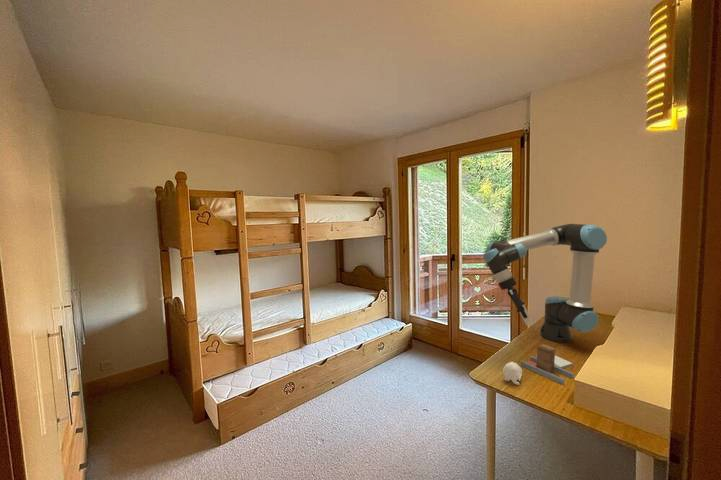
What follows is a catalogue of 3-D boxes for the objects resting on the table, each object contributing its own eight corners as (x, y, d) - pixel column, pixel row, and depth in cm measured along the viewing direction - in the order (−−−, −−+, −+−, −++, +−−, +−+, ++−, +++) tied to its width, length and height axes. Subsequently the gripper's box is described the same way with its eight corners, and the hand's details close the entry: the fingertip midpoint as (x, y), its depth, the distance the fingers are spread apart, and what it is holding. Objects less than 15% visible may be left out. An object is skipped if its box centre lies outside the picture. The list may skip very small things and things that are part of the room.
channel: (531, 359, 142) (531, 355, 141) (573, 378, 126) (574, 373, 126) (520, 365, 137) (520, 361, 136) (562, 384, 121) (563, 380, 121)
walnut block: (542, 366, 135) (543, 344, 134) (553, 372, 131) (555, 348, 130) (536, 369, 133) (537, 346, 132) (547, 375, 128) (549, 351, 127)
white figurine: (502, 362, 123) (511, 354, 132) (500, 382, 123) (510, 373, 132) (518, 367, 119) (527, 359, 127) (517, 388, 119) (525, 378, 127)
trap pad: (530, 361, 140) (530, 360, 140) (539, 365, 137) (539, 364, 136) (523, 364, 137) (523, 363, 137) (532, 368, 134) (532, 367, 134)
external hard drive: (560, 370, 133) (535, 357, 145) (572, 366, 136) (547, 354, 148) (560, 366, 133) (536, 354, 145) (573, 363, 136) (547, 351, 148)
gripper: (498, 280, 154) (520, 318, 148) (496, 285, 131) (521, 330, 126) (512, 274, 151) (535, 313, 145) (513, 278, 128) (539, 324, 123)
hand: (529, 321), depth 136 cm, fingers open, 13 cm apart
